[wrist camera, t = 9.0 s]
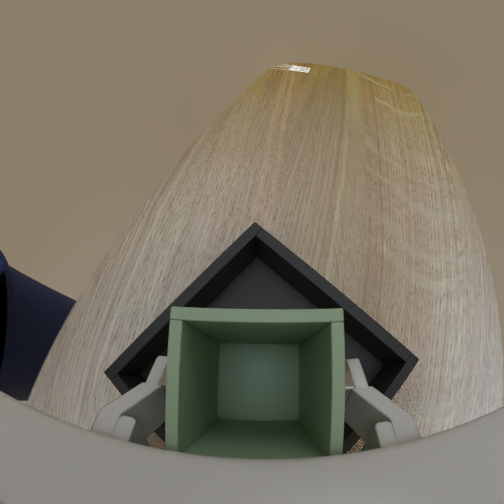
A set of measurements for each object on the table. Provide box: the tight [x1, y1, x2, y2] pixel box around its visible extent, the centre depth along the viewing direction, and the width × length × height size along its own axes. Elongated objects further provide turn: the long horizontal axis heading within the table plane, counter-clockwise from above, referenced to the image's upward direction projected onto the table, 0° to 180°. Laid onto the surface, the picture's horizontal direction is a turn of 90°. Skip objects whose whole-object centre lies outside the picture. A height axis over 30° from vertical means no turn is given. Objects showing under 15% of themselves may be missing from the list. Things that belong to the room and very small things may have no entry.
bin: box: [104, 222, 419, 454], centre depth 19 cm, size 16×16×5 cm
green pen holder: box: [165, 307, 345, 459], centre depth 11 cm, size 5×5×8 cm
